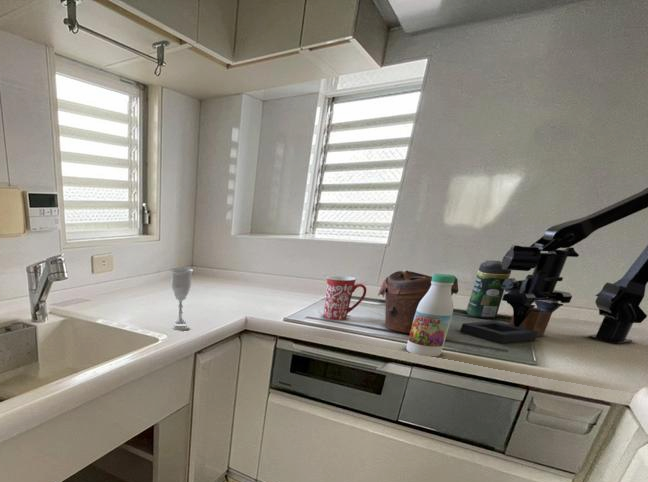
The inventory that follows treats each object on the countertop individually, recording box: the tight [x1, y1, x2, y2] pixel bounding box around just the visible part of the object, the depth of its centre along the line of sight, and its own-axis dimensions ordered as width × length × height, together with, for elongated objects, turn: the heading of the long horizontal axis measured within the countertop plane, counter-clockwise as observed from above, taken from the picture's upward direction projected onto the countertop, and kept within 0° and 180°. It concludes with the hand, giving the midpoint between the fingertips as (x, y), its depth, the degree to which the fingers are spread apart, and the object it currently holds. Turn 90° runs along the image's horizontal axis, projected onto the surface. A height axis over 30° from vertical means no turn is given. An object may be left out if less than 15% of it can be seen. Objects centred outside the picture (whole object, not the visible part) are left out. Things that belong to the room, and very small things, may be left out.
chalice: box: [170, 267, 194, 331], centre depth 124 cm, size 7×7×18 cm
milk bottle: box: [406, 273, 456, 358], centre depth 101 cm, size 8×8×20 cm
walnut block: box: [509, 307, 553, 338], centre depth 119 cm, size 5×6×8 cm
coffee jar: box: [466, 260, 512, 320], centre depth 136 cm, size 10×8×19 cm
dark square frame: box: [459, 320, 538, 344], centre depth 118 cm, size 12×12×2 cm
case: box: [377, 269, 459, 335], centre depth 122 cm, size 18×20×18 cm
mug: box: [323, 275, 367, 321], centre depth 135 cm, size 13×9×14 cm
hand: (525, 325), depth 119 cm, fingers open, 7 cm apart
